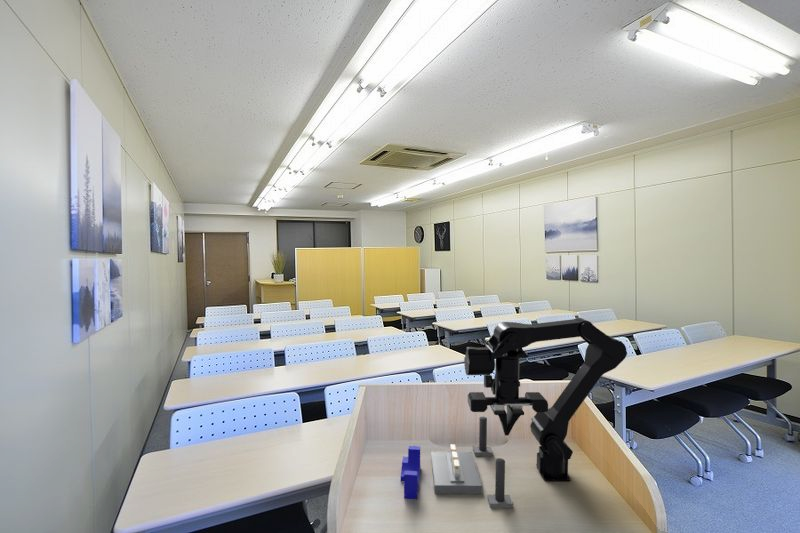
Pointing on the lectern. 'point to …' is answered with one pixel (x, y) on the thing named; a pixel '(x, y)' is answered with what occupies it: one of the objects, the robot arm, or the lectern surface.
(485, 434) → the grey post on base
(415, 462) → the cable clip
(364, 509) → the lectern surface
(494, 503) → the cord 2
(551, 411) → the robot arm
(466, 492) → the breaker panel
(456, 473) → the breaker paddles
